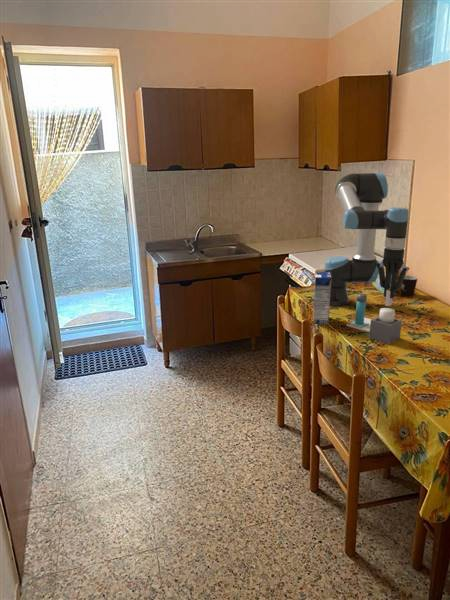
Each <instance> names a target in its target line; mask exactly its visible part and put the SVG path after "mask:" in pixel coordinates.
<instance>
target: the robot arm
mask: <svg viewBox="0 0 450 600" xmlns="http://www.w3.org/2000/svg"><path fill="white" fill-rule="evenodd" d="M388 185H389V184H388V179H387V176H385V174H383V173H378V172H377V173H376V172H375V173H374V172H367V173H366V172H365V173H354V172H353V173H349V174H346V175H344V176H343V177H341V178H340V179H339V180H338V182H337V183H336V185H335V187H334V195H335V197H336V198H337V200H339V201H340V202H341V203H340V204H341V206H342V208H343V210H344V212H343V216H342V226H343V228H344V229H345V230H347V229H348V230H357V239H356V249H355V254H353V255H352V259H349V258H348V257H347V256H333V257H329V258H327V259H326V260H325V261H324V266H323V272H331V293H330V306H332V307H342V306H346V305H348V304H349V302H350V301H349V294H348V291H347V284H349V283H350V284H372V283H373V282H374V281H375V280H376V279H377V277H378V274H379V279H380V286H381V287H383V288H384V289H385V291H384V295H383V297H384V298H385V303H384V307H385V306H386V307H391V306H392V305H393V299H395V295H396V291H399V290H401V285H402V283H403V280H404V277H405V275H407V272H408V271H409V270H410V267H409V266H406V265H405V263H404V257H405V249H404V248H406V238H407V232H408V231H407V230H408V224H409V219H410V218H409V212H410V211H409V209H408V208H406V207H390V208H389V209H384V210H379V207H380V205H381V204H383V200H384V199H387V198H388V197H387V196H388V192H389V186H388ZM377 230H385V240H384V247H385V248H384V250H383V259H381V260H382V262H380V263H379V261H377V260H378V259H377V256H376V255H375V246H376V245H375V244H376V237H377V236H376V234H377ZM384 267H385V268H386V271H385V272H384ZM399 271H400V273H399ZM385 273H386V276H385ZM391 274H392V278H391ZM398 274H399V275H398ZM390 283H391V287H390ZM389 288H390V289H389Z"/></svg>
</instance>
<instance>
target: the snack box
mask: <svg viewBox="0 0 450 600" xmlns="http://www.w3.org/2000/svg"><path fill="white" fill-rule="evenodd" d="M376 260H377V261H379V263H380V262H382V260H383V259H381V260H380V259H376ZM385 271H386V268H385V267H384V272H385ZM385 276H386V273H385ZM391 278H392V274H391ZM371 284H372V286H373V287H375V288H376V289H377V290H378V292H380V293H381V294H382V295H383V296H384V291H385V289H384V288H383V287H381V286H380V279H379V274H378V277H377V279H376V280H375V281H374V282H373V283H371ZM390 287H391V283H390ZM389 289H390V288H389Z"/></svg>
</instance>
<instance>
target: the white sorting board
mask: <svg viewBox="0 0 450 600" xmlns="http://www.w3.org/2000/svg"><path fill="white" fill-rule="evenodd" d="M372 319H373V318H372ZM372 319H371V318H369V317H366V316H364V324H363V325H357V324H355V323H354V322H355V320H353V321H351V322H348V323H346V327H349V328H353V329H357V330H359V331H363V332H366V333H369V334H370V324H371V320H372Z"/></svg>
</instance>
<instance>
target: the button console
mask: <svg viewBox="0 0 450 600" xmlns="http://www.w3.org/2000/svg"><path fill="white" fill-rule="evenodd" d="M402 324H403V320H402V319H398V318H394V323H392V324H387V323H383V322H379V316H377V317H375V318H372V320H371V324H370V333H369V336H368V338H369V339H371V340H374V341H377V342H380V343H381V342H382V343H384V344H387V345H390V344H392V343H394V342H395V341H397V340H399V339H400V338H401V332H402Z"/></svg>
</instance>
